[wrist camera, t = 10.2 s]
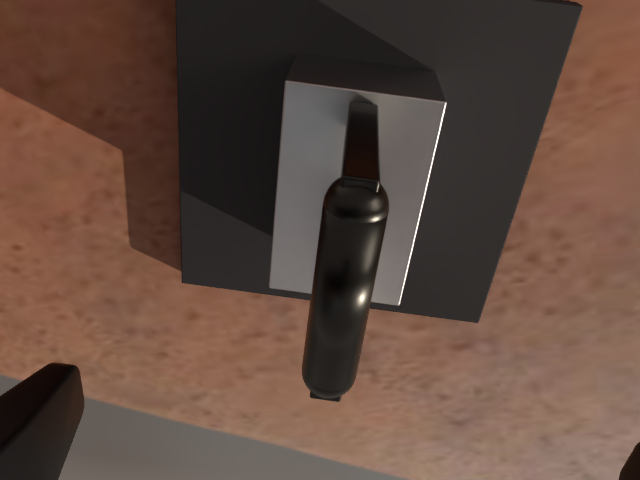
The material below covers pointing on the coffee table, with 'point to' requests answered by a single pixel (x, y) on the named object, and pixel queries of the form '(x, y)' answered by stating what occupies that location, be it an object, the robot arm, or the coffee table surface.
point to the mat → (377, 48)
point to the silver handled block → (349, 199)
